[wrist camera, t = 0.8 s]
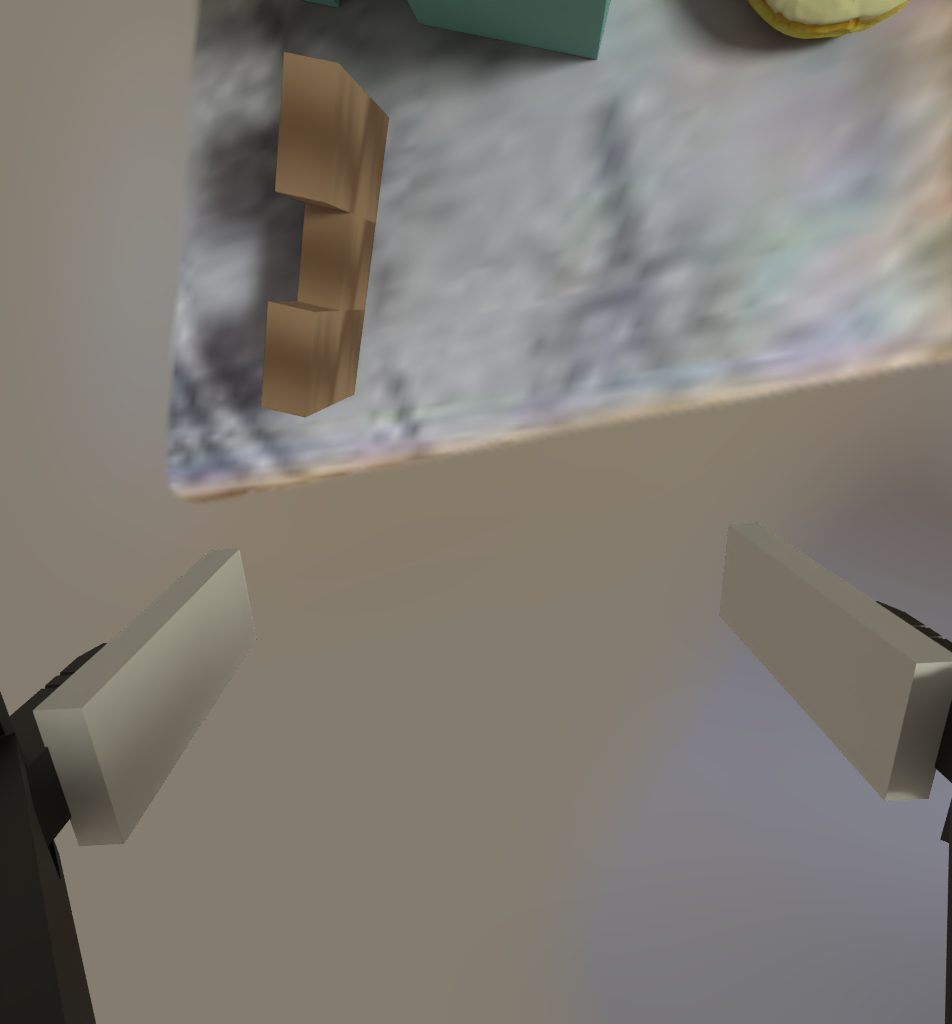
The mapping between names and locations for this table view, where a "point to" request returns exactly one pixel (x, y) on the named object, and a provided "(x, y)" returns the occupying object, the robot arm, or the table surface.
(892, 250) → the table surface
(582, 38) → the teal upright panel
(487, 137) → the table surface
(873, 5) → the decorated donut
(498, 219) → the table surface
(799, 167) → the table surface
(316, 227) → the walnut slotted plate
